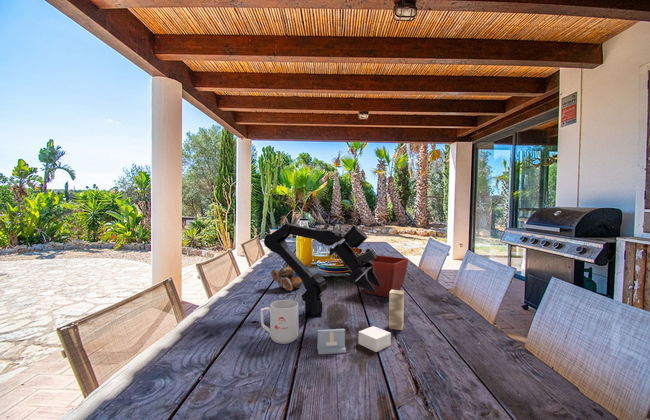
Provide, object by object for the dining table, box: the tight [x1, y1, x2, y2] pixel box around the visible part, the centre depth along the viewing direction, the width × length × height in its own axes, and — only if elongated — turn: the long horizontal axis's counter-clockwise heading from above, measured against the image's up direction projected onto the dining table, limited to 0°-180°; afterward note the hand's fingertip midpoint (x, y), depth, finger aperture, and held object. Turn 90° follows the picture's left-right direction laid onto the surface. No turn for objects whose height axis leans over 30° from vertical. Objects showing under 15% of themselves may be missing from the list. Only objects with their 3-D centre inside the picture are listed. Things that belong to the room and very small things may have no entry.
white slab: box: [358, 325, 392, 353], centre depth 93 cm, size 7×7×4 cm
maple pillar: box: [388, 289, 405, 331], centre depth 106 cm, size 4×4×12 cm
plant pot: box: [364, 254, 409, 298], centre depth 148 cm, size 19×19×17 cm
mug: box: [260, 299, 300, 345], centre depth 96 cm, size 12×9×11 cm
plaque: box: [316, 328, 347, 355], centre depth 89 cm, size 8×4×6 cm, turn 99°
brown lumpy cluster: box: [270, 266, 303, 292], centre depth 155 cm, size 13×16×15 cm
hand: (377, 288), depth 109 cm, fingers open, 9 cm apart
